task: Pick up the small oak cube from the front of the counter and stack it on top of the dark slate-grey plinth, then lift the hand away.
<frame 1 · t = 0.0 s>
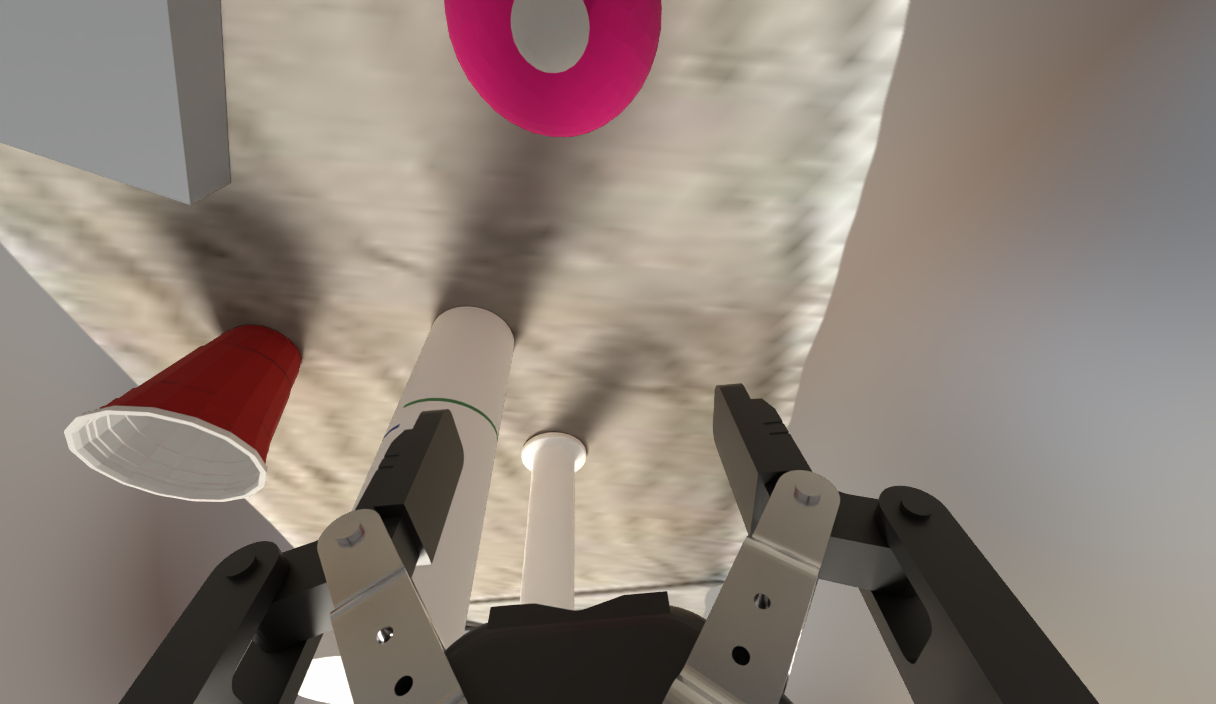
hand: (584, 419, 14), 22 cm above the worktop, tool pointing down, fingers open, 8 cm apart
pepper mill: (565, 7, 25), on the worktop
cylindrical container: (473, 339, 39), on the worktop
plastic cup: (267, 351, 39), on the worktop
slate plinth: (71, 7, 24), on the worktop
candle: (554, 451, 49), on the worktop
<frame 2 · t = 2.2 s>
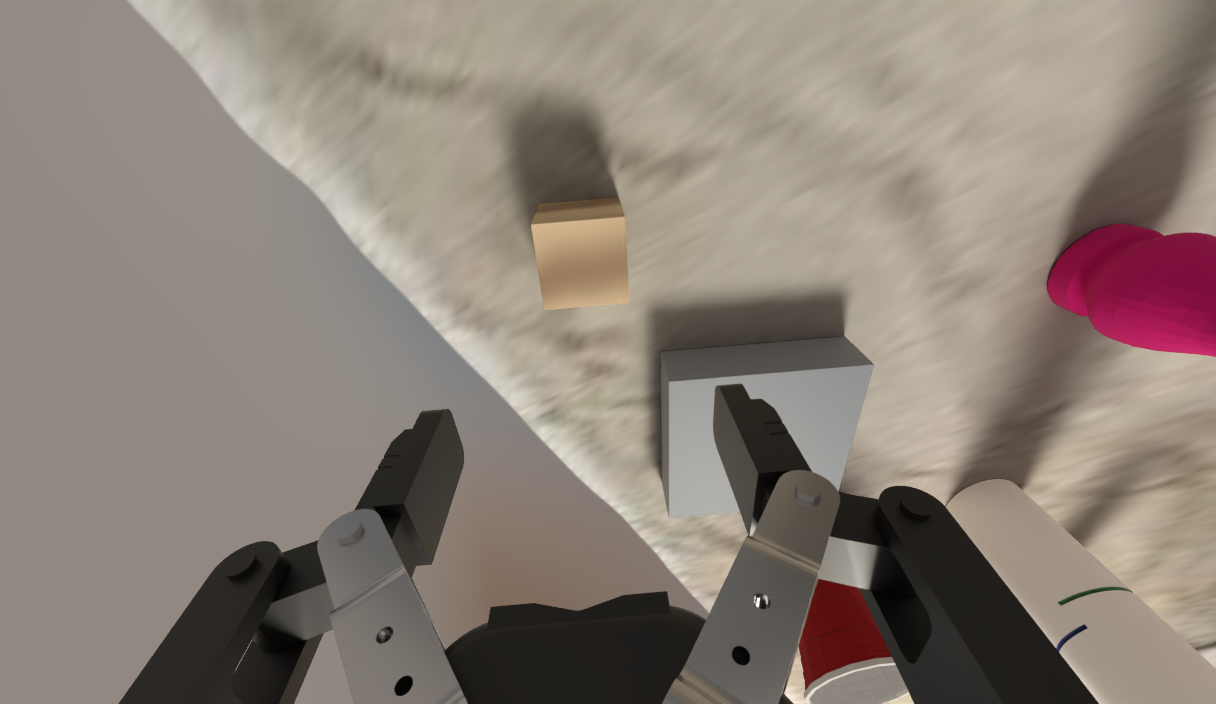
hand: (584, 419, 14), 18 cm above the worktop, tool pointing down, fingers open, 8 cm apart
pepper mill: (1090, 266, 32), on the worktop
cylindrical container: (979, 502, 45), on the worktop
plastic cup: (808, 564, 49), on the worktop
slate plinth: (744, 416, 37), on the worktop
oak cube: (582, 239, 29), on the worktop
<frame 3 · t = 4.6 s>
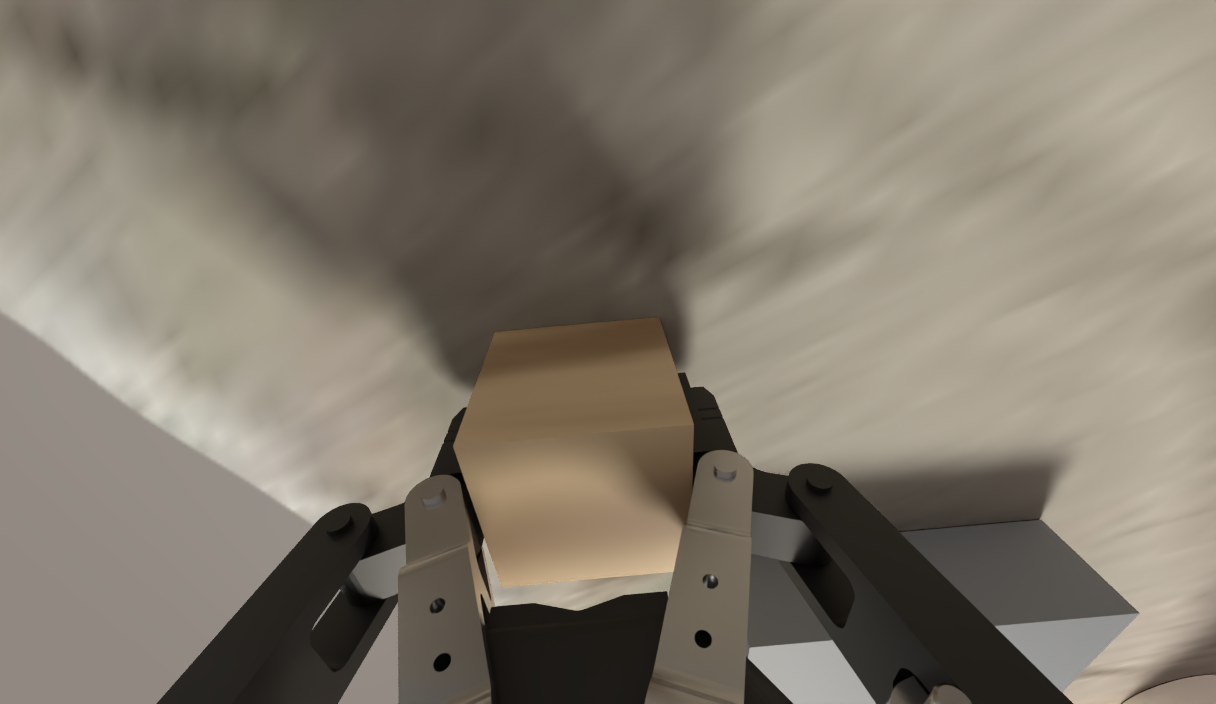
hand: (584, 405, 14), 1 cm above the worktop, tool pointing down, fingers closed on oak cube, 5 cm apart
cylindrical container: (1169, 696, 30), on the worktop
slate plinth: (848, 620, 23), on the worktop
oak cube: (585, 391, 15), on the worktop, touching gripper
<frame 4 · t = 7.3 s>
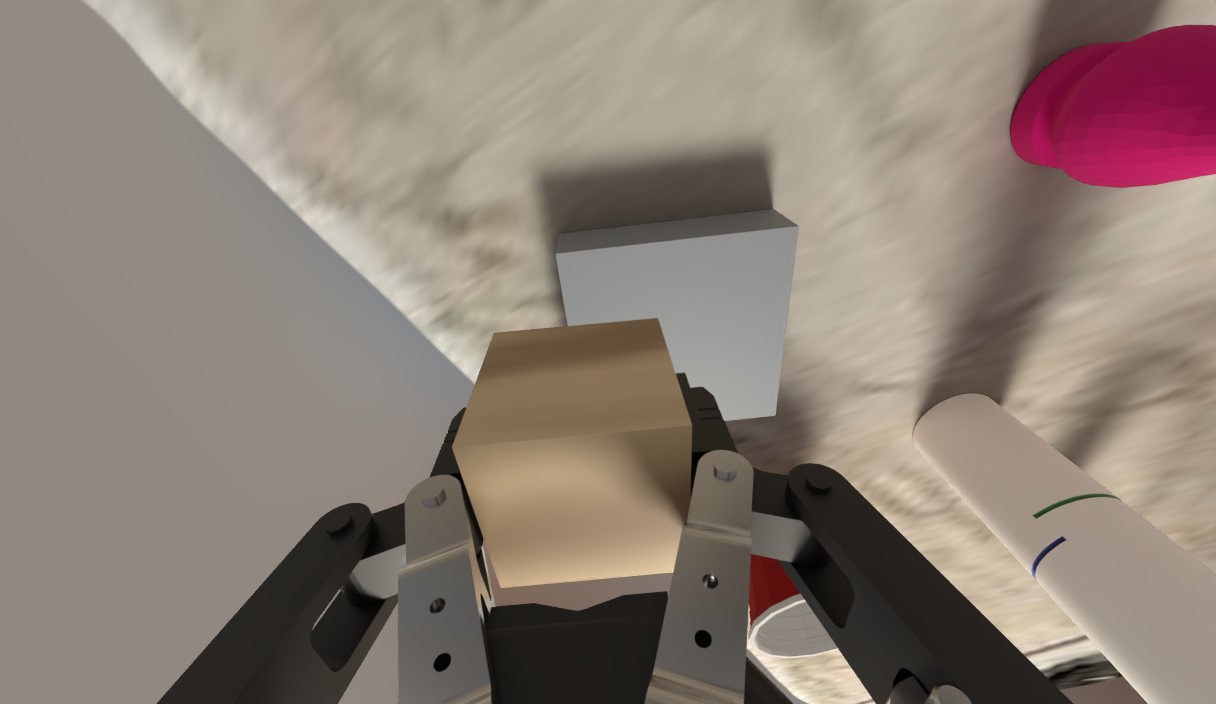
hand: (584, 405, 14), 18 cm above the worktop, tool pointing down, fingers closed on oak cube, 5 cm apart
pepper mill: (1061, 107, 27), on the worktop
cylindrical container: (952, 424, 40), on the worktop
plastic cup: (765, 503, 44), on the worktop
slate plinth: (668, 317, 33), on the worktop
oak cube: (584, 391, 15), point 17 cm above the worktop, touching gripper
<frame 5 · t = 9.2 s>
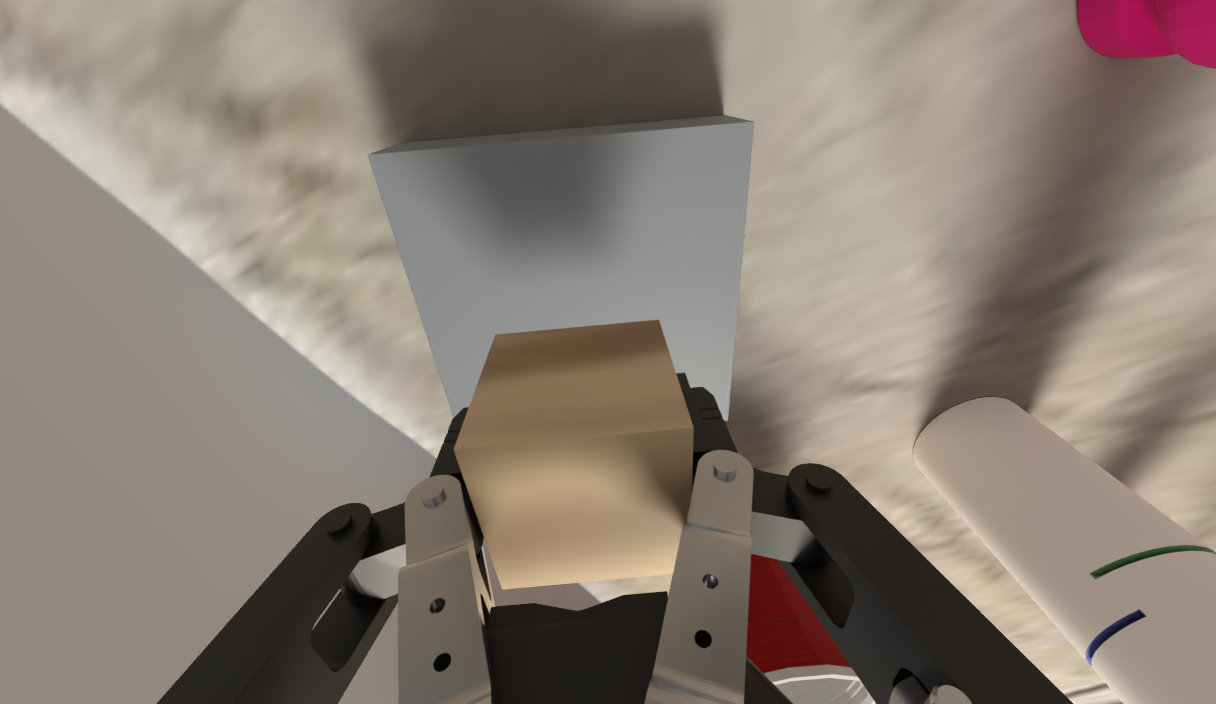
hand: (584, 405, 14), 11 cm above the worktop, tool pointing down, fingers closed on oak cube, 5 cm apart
cylindrical container: (964, 436, 31), on the worktop
plastic cup: (725, 531, 35), on the worktop
slate plinth: (581, 278, 23), on the worktop
oak cube: (585, 393, 15), point 10 cm above the worktop, touching gripper
when the fingers open (6 cm above the worktop, at t = 10.5 s): oak cube drops 1 cm, resting on slate plinth.
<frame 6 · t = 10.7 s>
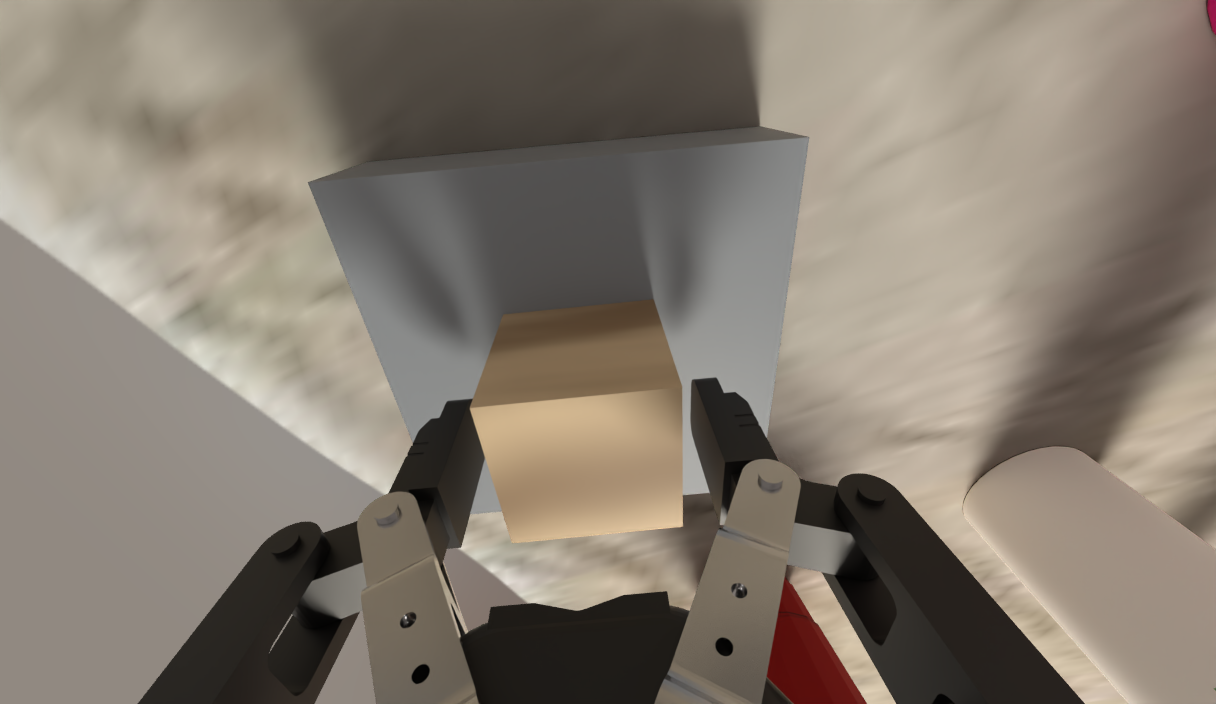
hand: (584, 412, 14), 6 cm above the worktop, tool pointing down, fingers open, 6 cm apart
cylindrical container: (1022, 488, 27), on the worktop
plastic cup: (746, 589, 31), on the worktop
slate plinth: (584, 319, 19), on the worktop
oak cube: (586, 369, 16), point 4 cm above the worktop, touching slate plinth
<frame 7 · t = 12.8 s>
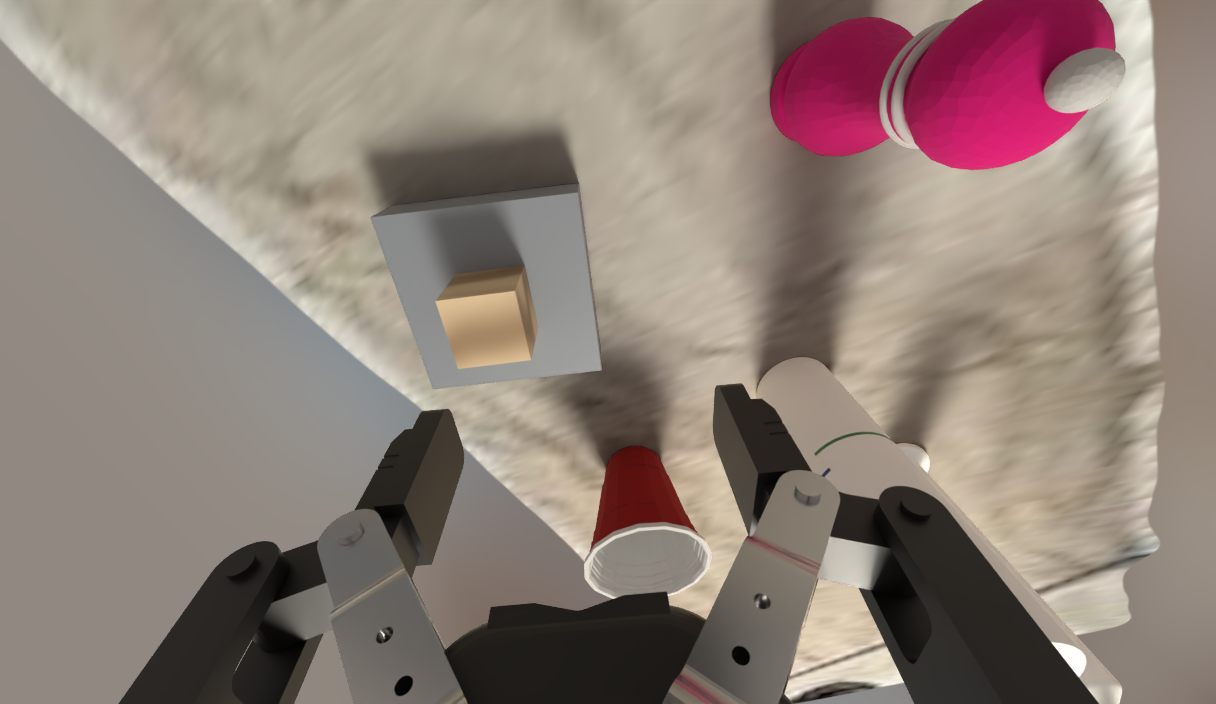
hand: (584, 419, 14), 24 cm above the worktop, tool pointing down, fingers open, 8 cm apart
pepper mill: (813, 92, 31), on the worktop
cylindrical container: (792, 387, 43), on the worktop
plastic cup: (635, 466, 47), on the worktop
slate plinth: (506, 282, 37), on the worktop
oak cube: (498, 301, 33), point 4 cm above the worktop, touching slate plinth
candle: (891, 465, 49), on the worktop
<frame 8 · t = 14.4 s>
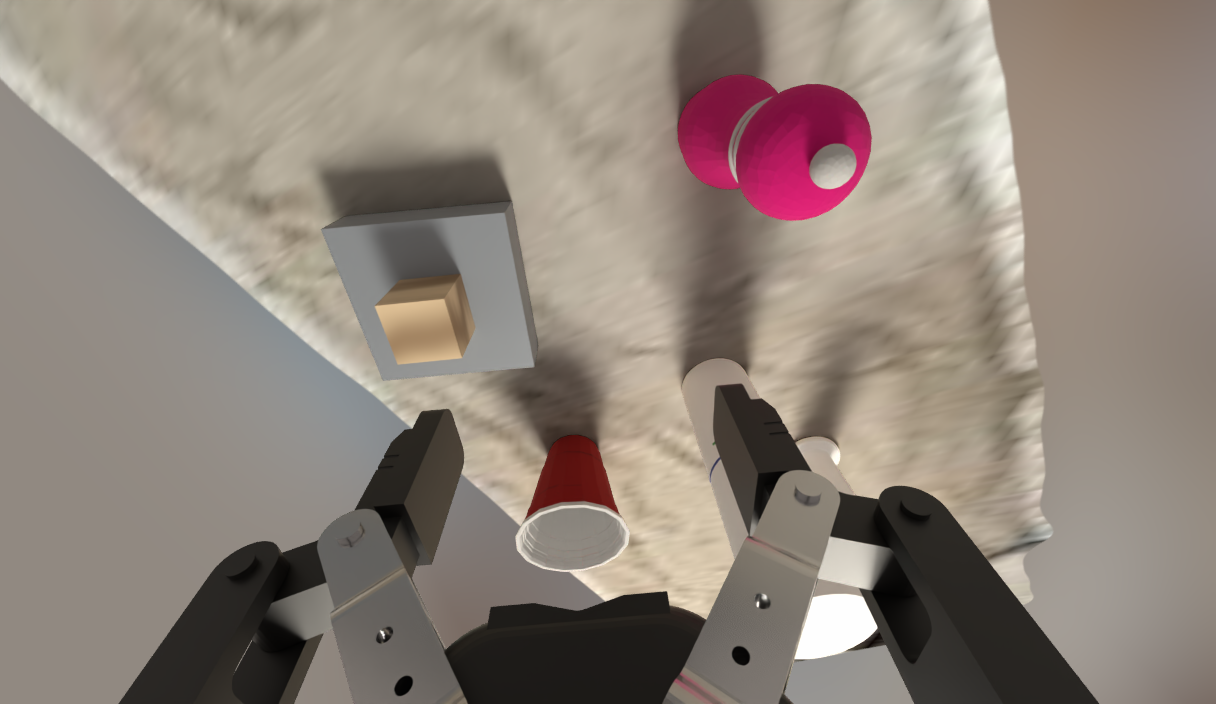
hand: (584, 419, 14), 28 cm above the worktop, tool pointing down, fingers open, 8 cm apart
pepper mill: (715, 129, 35), on the worktop
cylindrical container: (714, 385, 48), on the worktop
plastic cup: (575, 452, 52), on the worktop
slate plinth: (450, 286, 41), on the worktop
oak cube: (438, 304, 37), point 4 cm above the worktop, touching slate plinth
candle: (807, 456, 54), on the worktop
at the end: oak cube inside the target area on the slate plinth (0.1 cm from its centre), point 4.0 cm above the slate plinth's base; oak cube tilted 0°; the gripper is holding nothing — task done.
